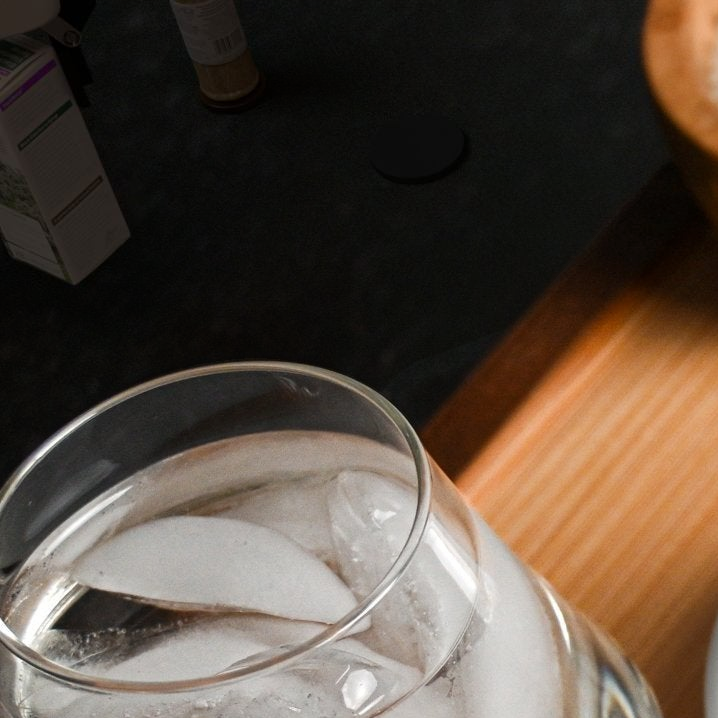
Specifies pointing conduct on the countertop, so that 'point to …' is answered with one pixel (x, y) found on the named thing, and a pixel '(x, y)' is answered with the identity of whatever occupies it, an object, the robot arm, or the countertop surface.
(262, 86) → the back coaster
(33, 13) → the robot arm
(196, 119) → the countertop surface
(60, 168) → the syrup box
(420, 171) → the side coaster
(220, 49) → the sprinkles bottle
